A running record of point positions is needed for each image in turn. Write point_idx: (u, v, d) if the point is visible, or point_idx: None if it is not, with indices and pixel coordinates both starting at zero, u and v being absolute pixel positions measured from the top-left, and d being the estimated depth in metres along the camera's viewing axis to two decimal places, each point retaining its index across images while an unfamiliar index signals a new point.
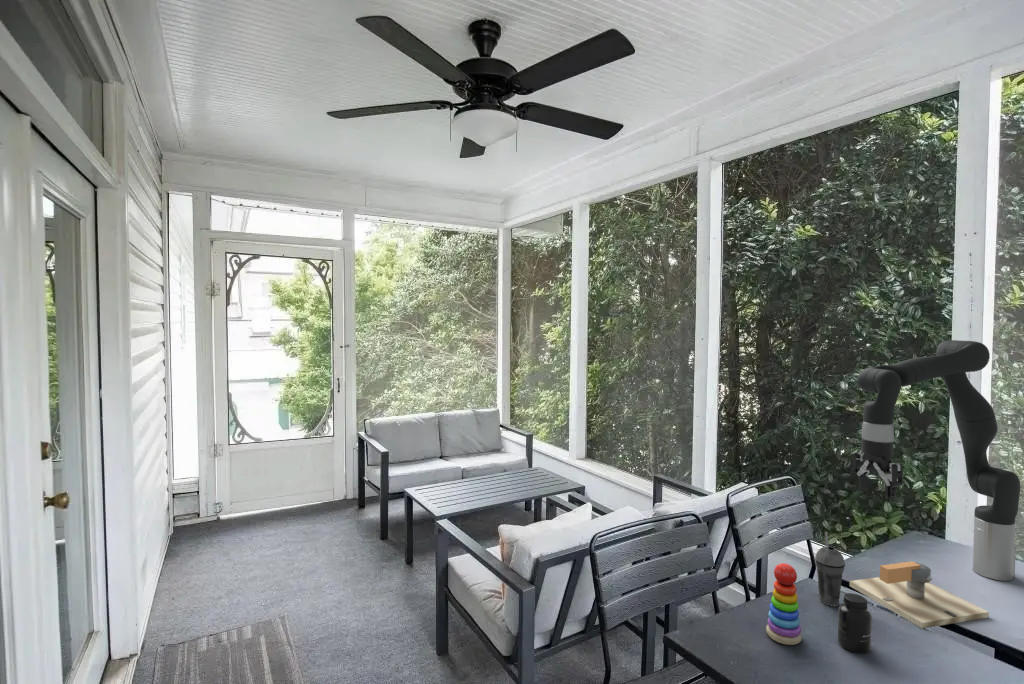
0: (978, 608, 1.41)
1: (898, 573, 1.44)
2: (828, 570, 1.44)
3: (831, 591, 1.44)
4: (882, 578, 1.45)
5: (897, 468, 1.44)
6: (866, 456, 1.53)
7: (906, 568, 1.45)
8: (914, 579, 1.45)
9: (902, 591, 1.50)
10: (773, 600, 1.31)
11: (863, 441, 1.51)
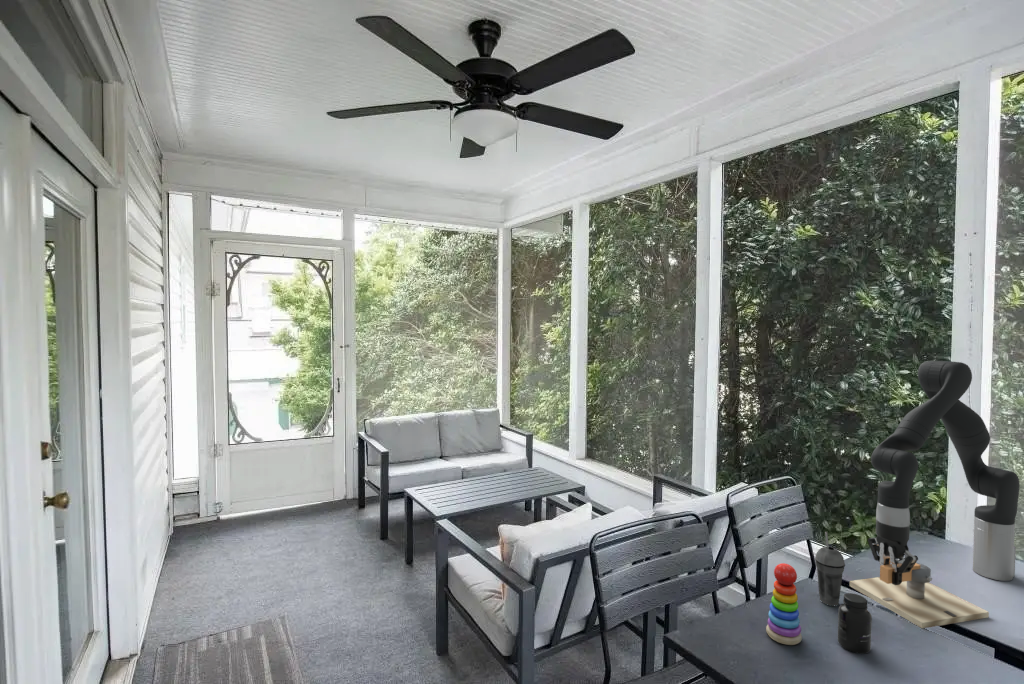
0: (978, 608, 1.41)
1: None
2: (828, 570, 1.44)
3: (831, 591, 1.44)
4: (882, 578, 1.45)
5: (911, 561, 1.39)
6: (879, 536, 1.47)
7: None
8: (914, 579, 1.45)
9: (902, 591, 1.50)
10: (773, 600, 1.31)
11: (878, 523, 1.45)
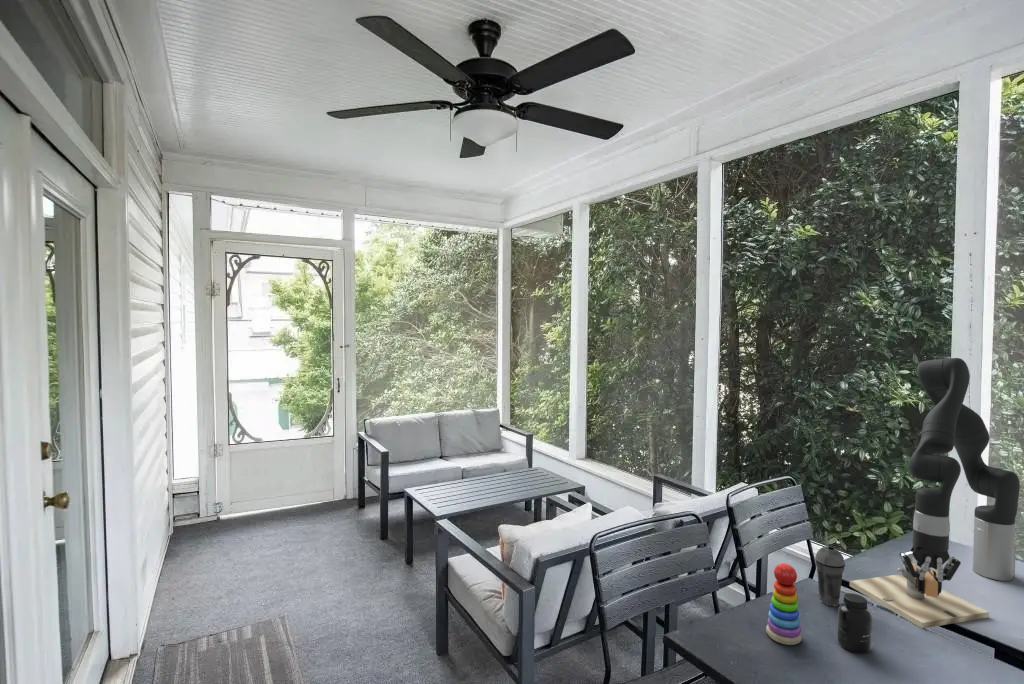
0: (978, 608, 1.41)
1: None
2: (828, 570, 1.44)
3: (831, 591, 1.44)
4: (930, 593, 1.37)
5: None
6: (920, 550, 1.38)
7: None
8: None
9: (902, 591, 1.50)
10: (773, 600, 1.31)
11: (933, 538, 1.35)
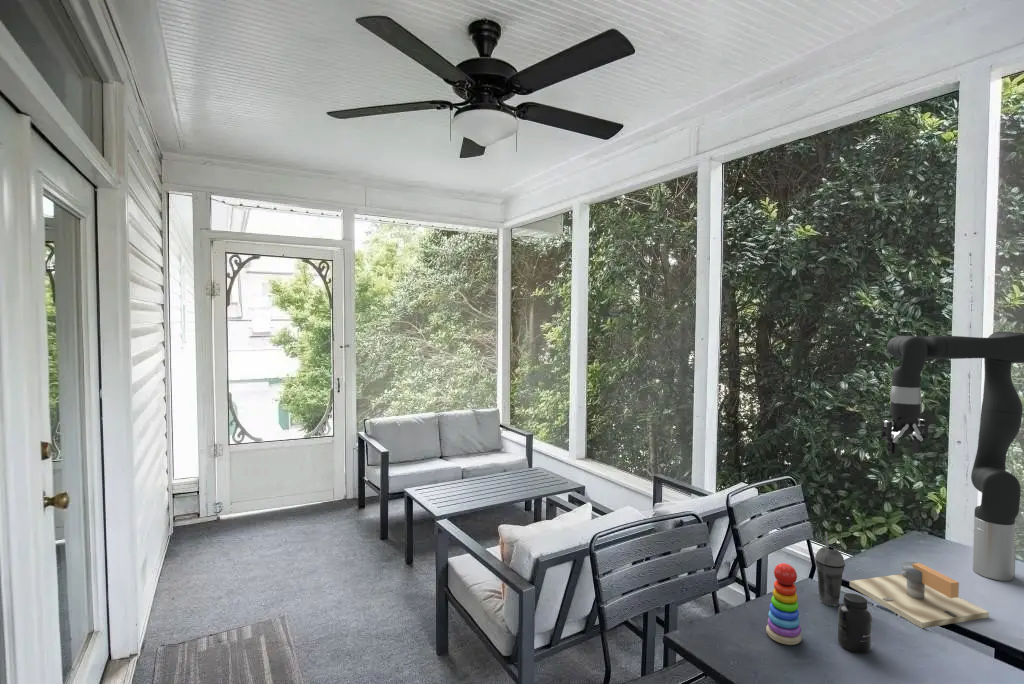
0: (978, 608, 1.41)
1: None
2: (828, 570, 1.44)
3: (831, 591, 1.44)
4: (953, 595, 1.36)
5: None
6: (901, 421, 1.59)
7: None
8: None
9: (902, 591, 1.50)
10: (773, 600, 1.31)
11: (912, 406, 1.56)
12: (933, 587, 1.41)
